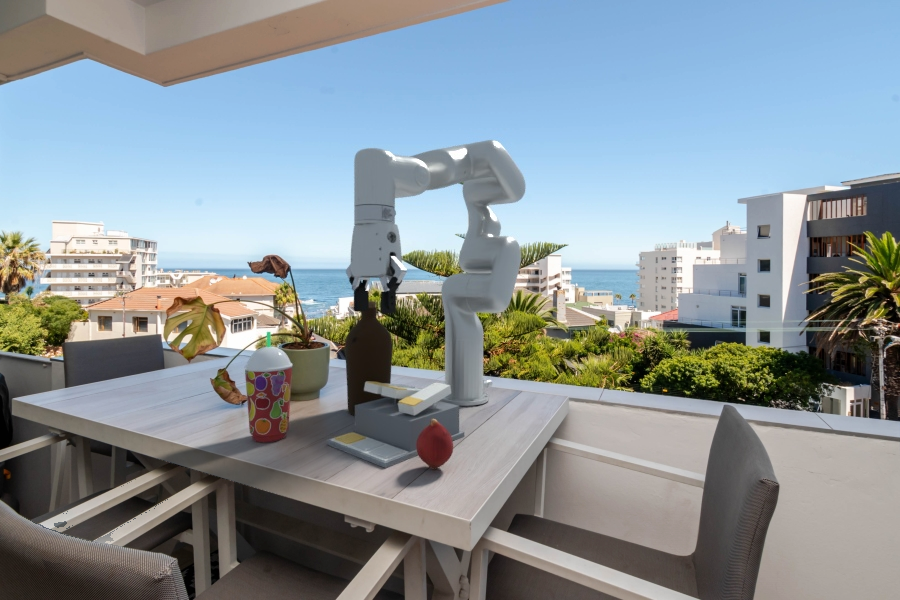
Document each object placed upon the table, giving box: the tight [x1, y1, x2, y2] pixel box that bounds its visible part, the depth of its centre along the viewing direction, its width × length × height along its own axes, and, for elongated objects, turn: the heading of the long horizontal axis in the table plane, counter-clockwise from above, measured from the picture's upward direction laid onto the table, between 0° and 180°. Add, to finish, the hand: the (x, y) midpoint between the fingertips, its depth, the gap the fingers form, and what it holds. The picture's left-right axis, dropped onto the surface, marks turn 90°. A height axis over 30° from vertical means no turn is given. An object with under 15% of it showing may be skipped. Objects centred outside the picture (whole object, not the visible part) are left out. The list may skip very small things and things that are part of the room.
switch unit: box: [325, 397, 465, 469], centre depth 85 cm, size 20×16×7 cm
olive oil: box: [344, 300, 393, 416], centre depth 104 cm, size 11×11×25 cm
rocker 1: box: [364, 381, 416, 399], centre depth 90 cm, size 10×4×3 cm, turn 140°
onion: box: [416, 419, 454, 470], centre depth 72 cm, size 6×6×8 cm
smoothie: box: [244, 331, 293, 443], centre depth 86 cm, size 8×8×20 cm
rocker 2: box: [381, 385, 423, 401], centre depth 87 cm, size 10×4×3 cm, turn 140°
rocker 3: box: [398, 381, 451, 416], centre depth 84 cm, size 10×4×3 cm, turn 140°
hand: (374, 311), depth 87 cm, fingers open, 7 cm apart
